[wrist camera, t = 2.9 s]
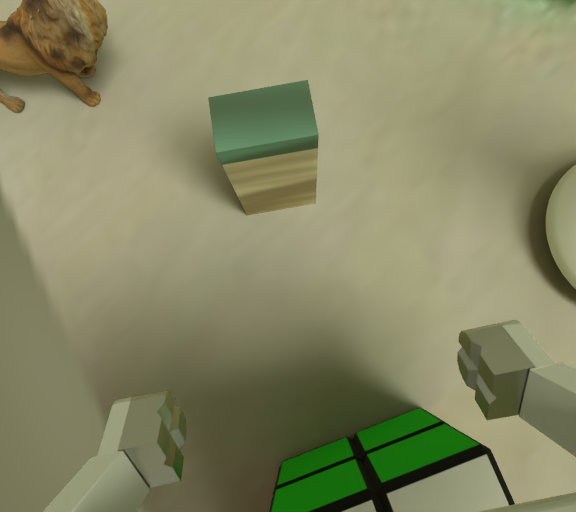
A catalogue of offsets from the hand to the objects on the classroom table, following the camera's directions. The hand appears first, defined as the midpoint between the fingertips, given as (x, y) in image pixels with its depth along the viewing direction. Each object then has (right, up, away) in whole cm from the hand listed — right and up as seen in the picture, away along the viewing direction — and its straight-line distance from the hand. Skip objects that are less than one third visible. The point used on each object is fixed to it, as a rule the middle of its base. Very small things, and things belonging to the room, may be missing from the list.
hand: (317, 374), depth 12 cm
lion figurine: (-19, +17, +21) cm, 33 cm away
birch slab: (-2, +8, +18) cm, 20 cm away
